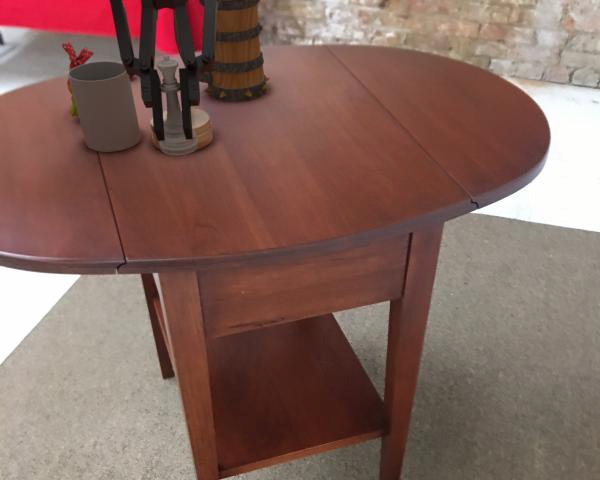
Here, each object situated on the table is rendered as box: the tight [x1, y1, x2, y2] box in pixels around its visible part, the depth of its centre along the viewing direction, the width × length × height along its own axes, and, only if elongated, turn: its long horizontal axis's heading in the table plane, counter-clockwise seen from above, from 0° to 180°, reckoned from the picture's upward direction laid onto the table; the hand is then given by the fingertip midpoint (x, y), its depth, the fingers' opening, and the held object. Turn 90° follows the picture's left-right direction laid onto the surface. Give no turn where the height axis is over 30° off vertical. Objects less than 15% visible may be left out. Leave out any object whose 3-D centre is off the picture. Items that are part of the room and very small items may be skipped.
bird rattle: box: [61, 42, 94, 118], centre depth 103 cm, size 6×11×9 cm
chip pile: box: [149, 107, 214, 151], centre depth 97 cm, size 10×9×3 cm
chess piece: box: [155, 53, 198, 156], centre depth 70 cm, size 4×4×10 cm
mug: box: [172, 0, 271, 103], centre depth 104 cm, size 13×17×20 cm
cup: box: [67, 60, 142, 153], centre depth 95 cm, size 8×8×10 cm
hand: (173, 134), depth 69 cm, fingers closed on chess piece, 2 cm apart
